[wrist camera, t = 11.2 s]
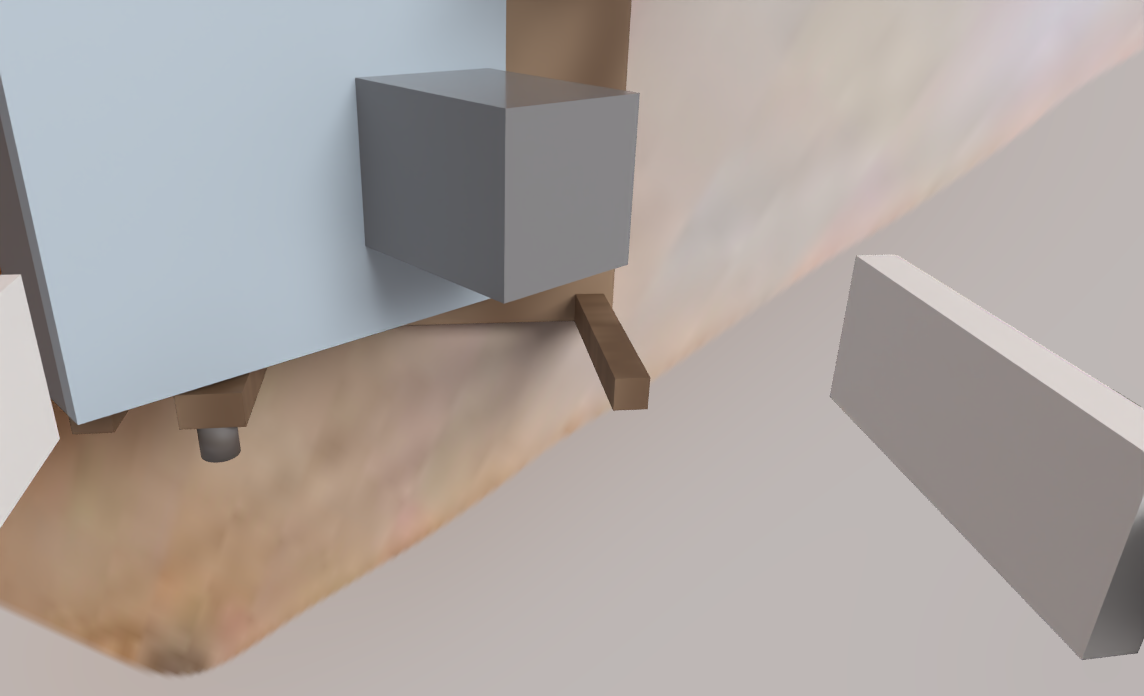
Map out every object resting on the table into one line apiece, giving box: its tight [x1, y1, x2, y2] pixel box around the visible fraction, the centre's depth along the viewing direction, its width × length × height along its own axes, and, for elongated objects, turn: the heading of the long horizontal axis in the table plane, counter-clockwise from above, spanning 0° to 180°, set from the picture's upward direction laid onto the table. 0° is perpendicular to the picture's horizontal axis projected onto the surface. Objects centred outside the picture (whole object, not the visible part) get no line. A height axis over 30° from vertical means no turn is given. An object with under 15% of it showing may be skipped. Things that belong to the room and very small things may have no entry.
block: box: [355, 68, 640, 304], centre depth 28 cm, size 6×6×7 cm
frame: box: [69, 0, 650, 462], centre depth 29 cm, size 19×18×9 cm
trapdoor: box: [0, 0, 506, 425], centre depth 28 cm, size 16×13×4 cm
